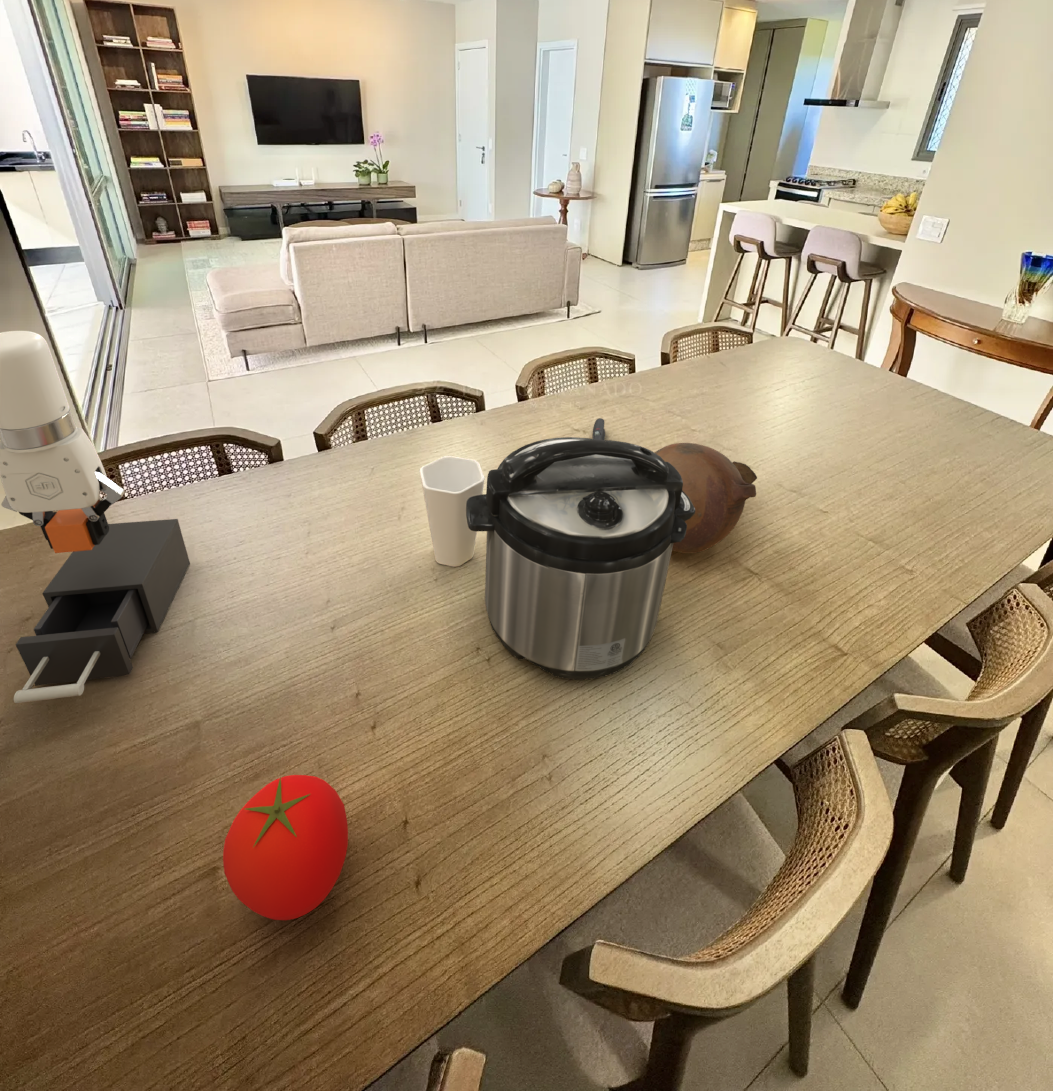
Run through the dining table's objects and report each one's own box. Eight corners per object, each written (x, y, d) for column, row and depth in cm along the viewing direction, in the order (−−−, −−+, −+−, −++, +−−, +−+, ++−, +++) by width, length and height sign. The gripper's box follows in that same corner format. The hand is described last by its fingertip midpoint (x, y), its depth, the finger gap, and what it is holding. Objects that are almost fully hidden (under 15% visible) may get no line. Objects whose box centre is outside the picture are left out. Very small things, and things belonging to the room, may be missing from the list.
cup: (488, 569, 102) (489, 488, 95) (429, 580, 99) (425, 497, 92) (474, 528, 112) (474, 452, 104) (421, 536, 109) (416, 459, 101)
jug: (673, 588, 100) (760, 541, 119) (726, 502, 91) (811, 466, 110) (594, 508, 112) (685, 477, 132) (634, 425, 103) (725, 405, 122)
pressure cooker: (683, 585, 101) (717, 423, 87) (639, 727, 77) (676, 538, 63) (524, 531, 111) (531, 380, 97) (444, 641, 88) (438, 463, 74)
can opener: (606, 470, 131) (609, 449, 128) (575, 465, 132) (577, 444, 130) (614, 432, 146) (617, 412, 144) (587, 427, 148) (588, 408, 145)
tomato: (373, 838, 65) (364, 767, 59) (318, 964, 55) (300, 893, 50) (283, 808, 67) (265, 736, 61) (215, 923, 58) (187, 851, 52)
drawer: (109, 717, 75) (91, 675, 71) (7, 730, 73) (-16, 688, 69) (165, 600, 92) (153, 562, 89) (84, 608, 90) (69, 569, 87)
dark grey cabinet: (158, 632, 88) (142, 584, 84) (63, 642, 86) (42, 593, 81) (190, 563, 101) (177, 518, 96) (108, 570, 98) (92, 525, 94)
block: (54, 553, 81) (44, 527, 79) (70, 532, 85) (61, 506, 83) (91, 550, 82) (82, 524, 80) (105, 529, 86) (97, 503, 84)
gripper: (-60, 448, 70) (-5, 565, 78) (99, 438, 73) (136, 552, 81) (-21, 417, 77) (27, 528, 85) (123, 410, 80) (156, 517, 88)
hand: (80, 539), depth 83 cm, fingers closed on block, 4 cm apart
